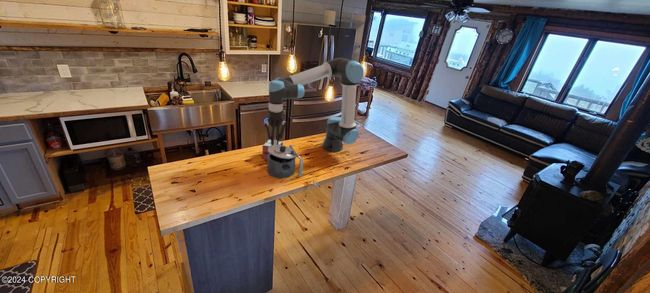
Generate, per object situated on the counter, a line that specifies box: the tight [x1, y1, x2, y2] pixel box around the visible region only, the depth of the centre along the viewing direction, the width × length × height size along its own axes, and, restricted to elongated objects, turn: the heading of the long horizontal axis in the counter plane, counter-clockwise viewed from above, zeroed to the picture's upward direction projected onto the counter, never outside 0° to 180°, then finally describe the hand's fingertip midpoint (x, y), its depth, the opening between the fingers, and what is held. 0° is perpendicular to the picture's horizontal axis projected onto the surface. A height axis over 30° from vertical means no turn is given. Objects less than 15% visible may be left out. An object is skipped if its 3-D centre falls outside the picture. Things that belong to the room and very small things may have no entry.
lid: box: [268, 144, 302, 160], centre depth 157 cm, size 18×17×4 cm
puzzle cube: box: [262, 139, 284, 161], centre depth 175 cm, size 10×10×10 cm
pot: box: [266, 144, 304, 179], centre depth 161 cm, size 18×20×12 cm
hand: (274, 149), depth 154 cm, fingers closed
